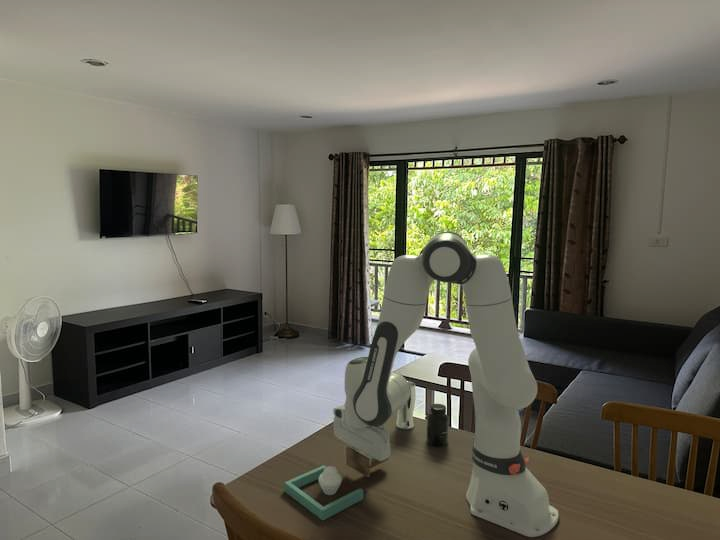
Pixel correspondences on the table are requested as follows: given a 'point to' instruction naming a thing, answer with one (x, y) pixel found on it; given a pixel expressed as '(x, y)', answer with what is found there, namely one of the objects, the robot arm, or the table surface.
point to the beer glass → (407, 410)
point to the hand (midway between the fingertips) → (361, 462)
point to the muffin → (330, 480)
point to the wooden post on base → (361, 461)
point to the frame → (312, 505)
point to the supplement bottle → (437, 425)
